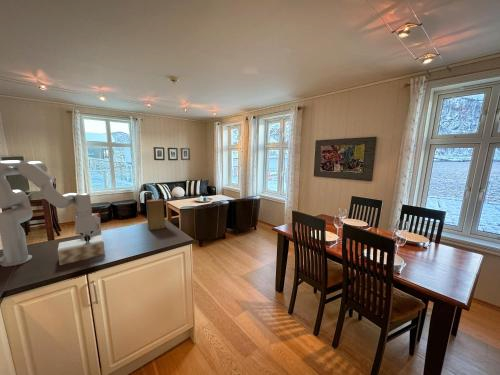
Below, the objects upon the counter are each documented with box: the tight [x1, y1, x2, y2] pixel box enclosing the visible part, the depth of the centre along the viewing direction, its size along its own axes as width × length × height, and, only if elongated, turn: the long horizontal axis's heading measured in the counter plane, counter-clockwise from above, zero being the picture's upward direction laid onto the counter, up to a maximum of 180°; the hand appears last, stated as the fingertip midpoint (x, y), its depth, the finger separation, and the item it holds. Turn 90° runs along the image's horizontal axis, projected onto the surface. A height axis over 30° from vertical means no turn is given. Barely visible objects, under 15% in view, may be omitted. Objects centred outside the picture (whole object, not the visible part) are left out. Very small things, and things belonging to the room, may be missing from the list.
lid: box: [57, 234, 105, 253], centre depth 136 cm, size 22×14×1 cm, turn 129°
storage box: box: [57, 242, 106, 266], centre depth 137 cm, size 22×14×8 cm, turn 129°
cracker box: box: [81, 212, 102, 239], centre depth 154 cm, size 14×6×21 cm, turn 8°
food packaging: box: [146, 198, 166, 231], centre depth 188 cm, size 13×9×25 cm
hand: (87, 241), depth 135 cm, fingers closed
